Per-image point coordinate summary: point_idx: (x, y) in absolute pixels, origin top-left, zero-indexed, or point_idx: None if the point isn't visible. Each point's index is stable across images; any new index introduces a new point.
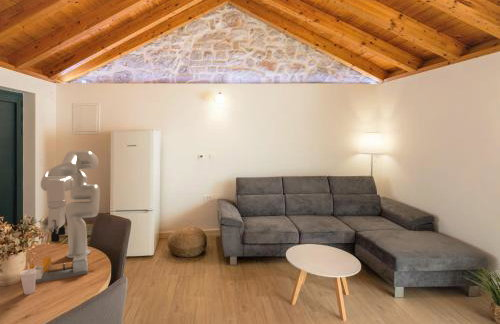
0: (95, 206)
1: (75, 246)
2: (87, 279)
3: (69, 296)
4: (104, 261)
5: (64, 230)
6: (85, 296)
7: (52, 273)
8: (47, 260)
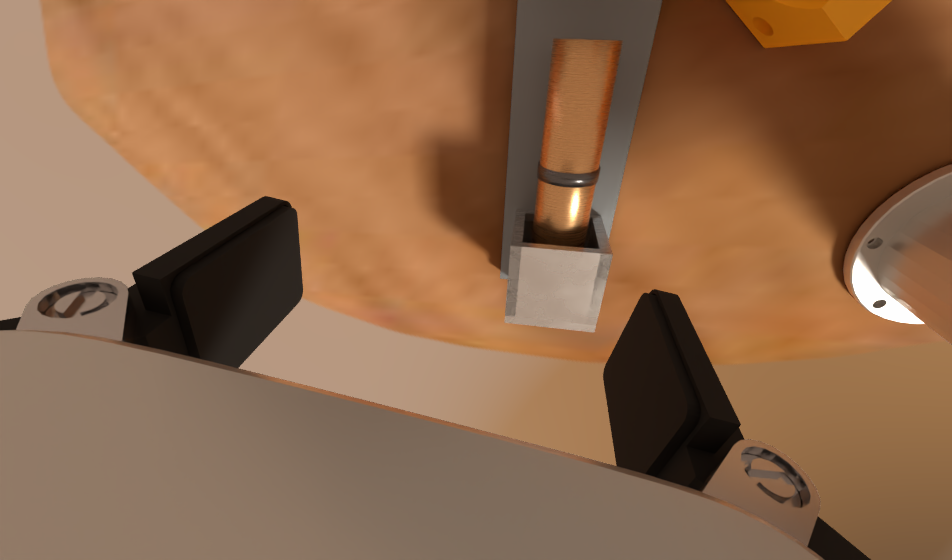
0: None
1: None
2: (423, 266)
3: (253, 184)
4: None
5: (615, 437)
6: None
7: None
8: (800, 9)
